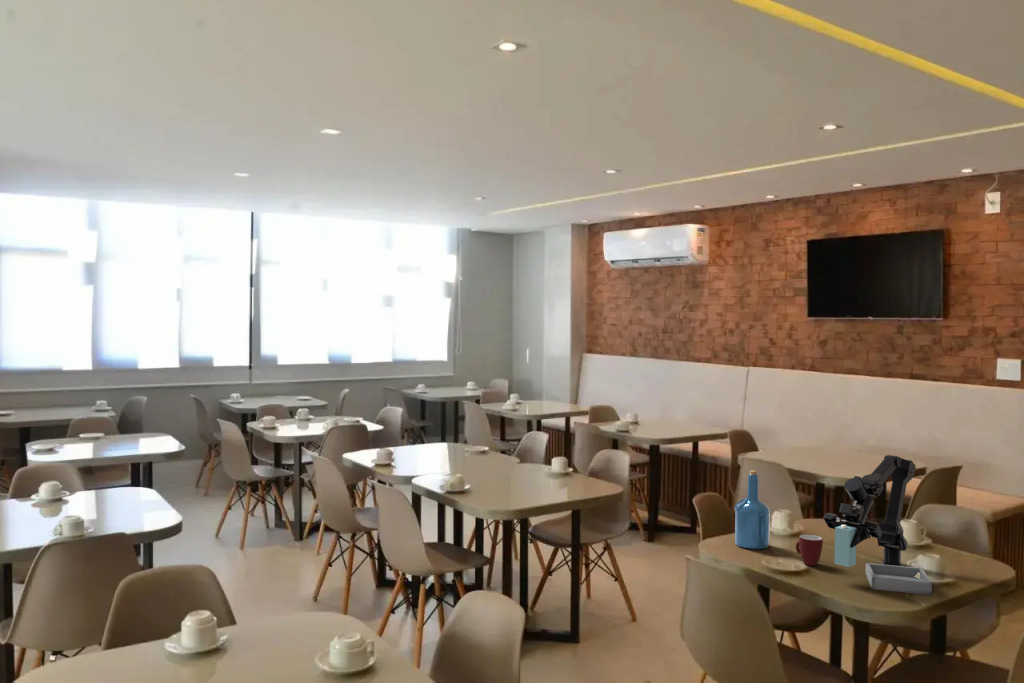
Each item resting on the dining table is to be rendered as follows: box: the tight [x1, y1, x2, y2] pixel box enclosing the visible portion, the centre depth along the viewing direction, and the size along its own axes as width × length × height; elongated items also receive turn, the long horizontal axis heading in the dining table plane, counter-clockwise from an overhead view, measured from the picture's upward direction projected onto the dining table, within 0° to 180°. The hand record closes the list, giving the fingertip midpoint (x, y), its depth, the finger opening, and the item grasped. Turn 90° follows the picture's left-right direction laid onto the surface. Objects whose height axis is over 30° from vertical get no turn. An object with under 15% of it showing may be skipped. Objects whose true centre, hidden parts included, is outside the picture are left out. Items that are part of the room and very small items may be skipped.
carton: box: [833, 525, 857, 568], centre depth 271 cm, size 5×5×14 cm
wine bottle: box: [734, 470, 771, 550], centre depth 315 cm, size 14×13×30 cm
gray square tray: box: [864, 562, 933, 596], centre depth 269 cm, size 17×18×4 cm
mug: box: [795, 534, 824, 567], centre depth 292 cm, size 11×8×10 cm
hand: (843, 545), depth 270 cm, fingers closed on carton, 5 cm apart
